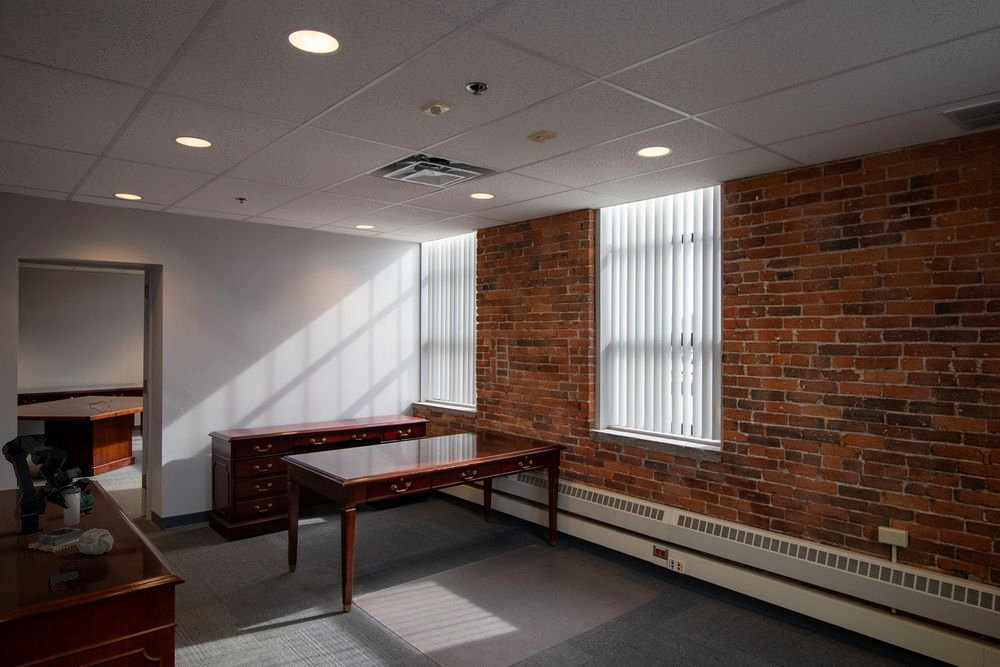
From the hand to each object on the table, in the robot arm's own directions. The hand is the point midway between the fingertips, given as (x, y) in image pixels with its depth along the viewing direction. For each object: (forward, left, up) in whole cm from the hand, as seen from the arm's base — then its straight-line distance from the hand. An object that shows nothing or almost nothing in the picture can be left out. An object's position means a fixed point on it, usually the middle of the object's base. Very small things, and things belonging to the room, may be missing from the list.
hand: (74, 506), depth 229 cm
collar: (-2, -4, -13) cm, 14 cm away
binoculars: (-36, +26, -14) cm, 47 cm away
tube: (-1, 0, -7) cm, 7 cm away
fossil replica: (+20, -6, -14) cm, 25 cm away
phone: (+37, -28, -14) cm, 48 cm away
